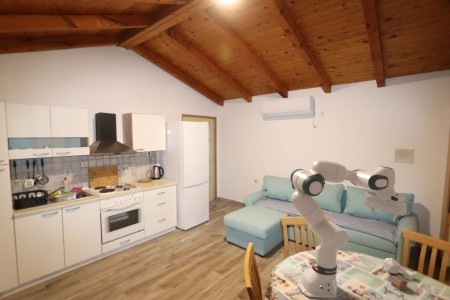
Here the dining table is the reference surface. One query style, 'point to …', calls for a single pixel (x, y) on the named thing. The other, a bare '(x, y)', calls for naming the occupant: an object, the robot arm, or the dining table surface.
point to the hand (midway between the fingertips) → (383, 218)
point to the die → (391, 265)
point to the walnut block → (399, 282)
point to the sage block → (408, 275)
